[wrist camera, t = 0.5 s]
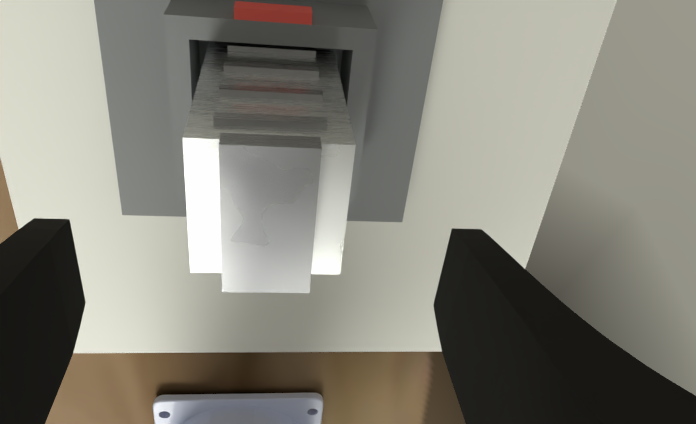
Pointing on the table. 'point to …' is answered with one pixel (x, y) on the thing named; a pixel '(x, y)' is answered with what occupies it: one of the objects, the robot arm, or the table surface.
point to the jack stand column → (267, 166)
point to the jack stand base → (368, 169)
